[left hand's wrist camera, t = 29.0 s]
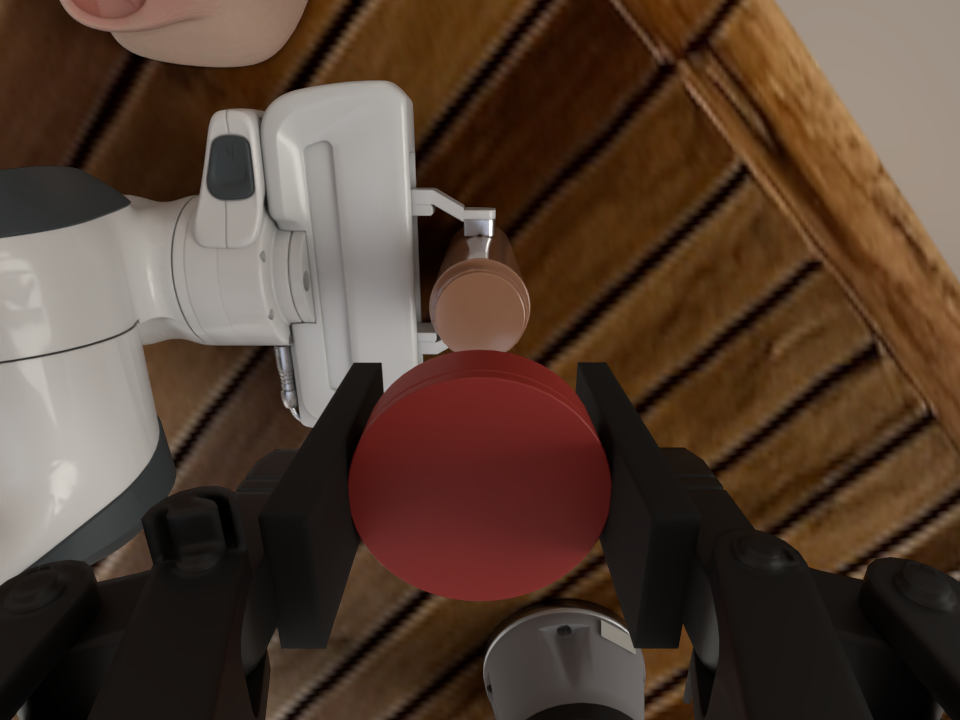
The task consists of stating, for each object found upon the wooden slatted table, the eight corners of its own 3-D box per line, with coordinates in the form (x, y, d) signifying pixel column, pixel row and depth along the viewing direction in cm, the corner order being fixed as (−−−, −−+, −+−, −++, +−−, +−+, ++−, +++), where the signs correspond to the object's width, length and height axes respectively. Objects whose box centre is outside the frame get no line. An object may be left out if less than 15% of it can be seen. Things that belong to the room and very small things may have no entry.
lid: (587, 332, 11) (605, 359, 9) (602, 538, 13) (618, 587, 11) (338, 366, 11) (317, 397, 10) (389, 562, 13) (377, 614, 12)
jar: (525, 254, 37) (555, 316, 23) (480, 299, 39) (480, 387, 24) (479, 207, 36) (479, 240, 21) (434, 255, 37) (404, 318, 23)
